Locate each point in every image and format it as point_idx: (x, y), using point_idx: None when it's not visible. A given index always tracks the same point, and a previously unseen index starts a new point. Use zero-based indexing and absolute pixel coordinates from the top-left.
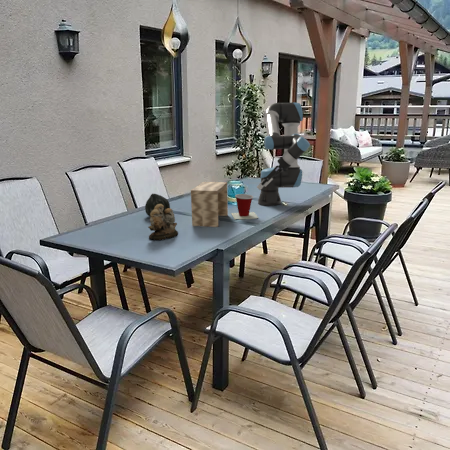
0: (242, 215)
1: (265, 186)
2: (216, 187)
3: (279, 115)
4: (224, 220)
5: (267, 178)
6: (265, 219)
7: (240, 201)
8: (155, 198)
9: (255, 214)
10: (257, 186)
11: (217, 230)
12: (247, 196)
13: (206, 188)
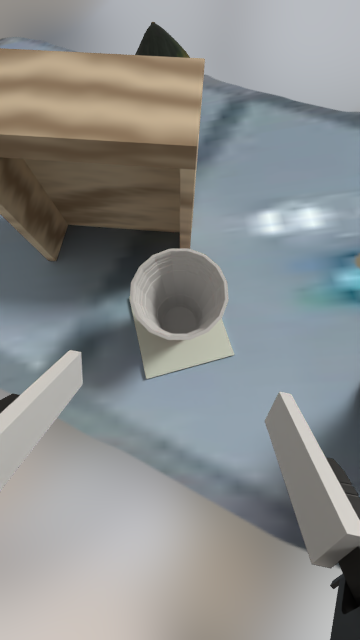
0: (161, 317)
1: (265, 422)
2: (22, 117)
3: None
4: (121, 269)
5: (315, 469)
6: (132, 408)
7: (145, 286)
8: (138, 49)
9: (194, 363)
10: (64, 358)
11: (11, 264)
12: (218, 308)
13: (5, 86)
